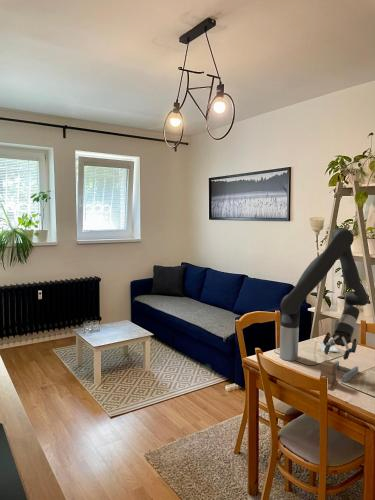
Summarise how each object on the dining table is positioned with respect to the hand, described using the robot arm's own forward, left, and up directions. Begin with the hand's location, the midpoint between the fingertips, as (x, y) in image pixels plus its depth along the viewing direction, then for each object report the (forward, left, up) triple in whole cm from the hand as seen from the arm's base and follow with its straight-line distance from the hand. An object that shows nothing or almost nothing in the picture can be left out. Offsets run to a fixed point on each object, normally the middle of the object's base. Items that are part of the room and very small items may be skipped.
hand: (335, 356), depth 167 cm
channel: (-6, +5, -11) cm, 13 cm away
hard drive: (-38, +9, -11) cm, 41 cm away
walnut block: (+6, -5, -11) cm, 13 cm away
